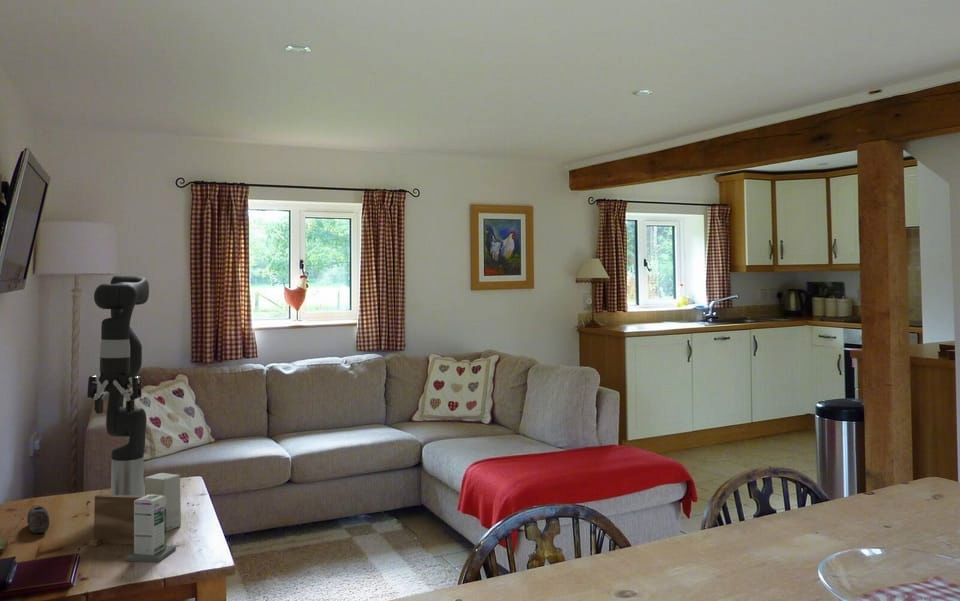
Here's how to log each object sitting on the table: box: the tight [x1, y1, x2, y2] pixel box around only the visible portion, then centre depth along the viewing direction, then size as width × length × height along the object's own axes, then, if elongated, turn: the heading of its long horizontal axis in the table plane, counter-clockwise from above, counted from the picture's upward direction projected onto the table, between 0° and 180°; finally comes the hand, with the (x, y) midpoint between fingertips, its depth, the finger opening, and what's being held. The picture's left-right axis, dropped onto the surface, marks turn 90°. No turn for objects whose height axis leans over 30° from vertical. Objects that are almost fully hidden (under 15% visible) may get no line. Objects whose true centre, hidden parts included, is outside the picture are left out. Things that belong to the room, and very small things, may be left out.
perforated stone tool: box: [26, 504, 51, 534], centre depth 208 cm, size 15×5×7 cm, turn 36°
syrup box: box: [133, 494, 167, 556], centre depth 188 cm, size 6×6×14 cm
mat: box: [124, 545, 177, 563], centre depth 188 cm, size 9×9×1 cm
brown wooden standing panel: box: [89, 493, 145, 547], centre depth 197 cm, size 6×18×13 cm, turn 86°
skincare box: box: [143, 472, 182, 532], centre depth 211 cm, size 8×7×16 cm
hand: (114, 413), depth 197 cm, fingers open, 8 cm apart
